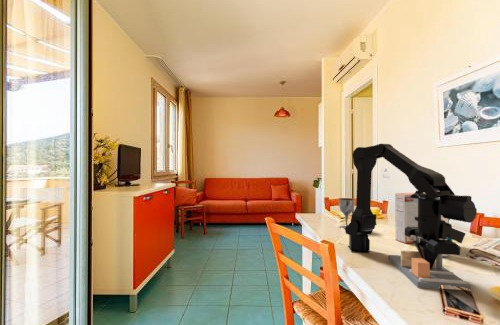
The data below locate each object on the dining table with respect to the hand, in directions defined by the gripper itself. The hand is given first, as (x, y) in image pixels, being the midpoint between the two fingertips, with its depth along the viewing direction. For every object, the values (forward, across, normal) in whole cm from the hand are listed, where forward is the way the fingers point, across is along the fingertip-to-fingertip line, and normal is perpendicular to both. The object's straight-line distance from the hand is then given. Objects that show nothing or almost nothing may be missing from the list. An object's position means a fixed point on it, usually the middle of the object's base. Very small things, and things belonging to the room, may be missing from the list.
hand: (428, 268), depth 75 cm
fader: (+1, -2, +3) cm, 4 cm away
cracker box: (+3, +40, -13) cm, 42 cm away
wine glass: (+3, +58, +11) cm, 60 cm away
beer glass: (+3, +23, -14) cm, 27 cm away
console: (+3, +4, -1) cm, 5 cm away
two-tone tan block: (+1, +5, +1) cm, 5 cm away
